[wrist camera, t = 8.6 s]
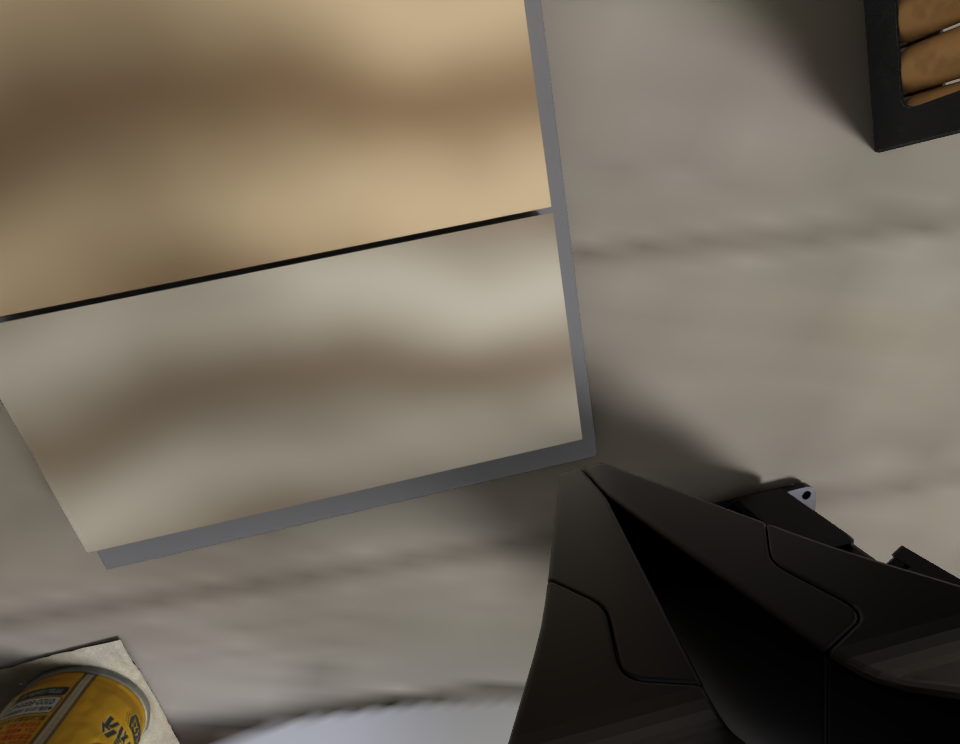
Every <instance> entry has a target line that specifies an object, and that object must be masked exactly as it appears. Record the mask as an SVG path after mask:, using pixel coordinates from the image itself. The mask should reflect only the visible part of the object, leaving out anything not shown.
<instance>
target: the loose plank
mask: <svg viewBox="0 0 960 744" xmlns="http://www.w3.org/2000/svg"><path fill="white" fill-rule="evenodd" d="M0 399H1V401H2V403H3V405H4V406H5V408H6V410H7V412H8V414H9V415H10V417H11V419H12V421H13V422H14V424H15V426H16V428H17V429H18V431H19V433H20V435H21V437H22V438H23V440H24V442H25V444H26V445H27V447H28V449H29V451H30V453H31V454H32V456H33V458H34V460H35V461H36V463H37V465H38V467H39V469H40V470H41V472H42V474H43V476H44V477H45V479H46V481H47V483H48V484H49V486H50V488H51V490H52V492H53V493H54V495H55V497H56V499H57V500H58V502H59V504H60V506H61V508H62V509H63V511H64V513H65V515H66V516H67V518H68V520H69V522H70V523H71V525H72V527H73V529H74V531H75V532H76V534H77V536H78V538H79V539H80V541H81V543H82V545H83V547H84V548H85V550H86V552H87V553H89V552H94V551H98V550H103V549H107V548H111V547H116V546H120V545H124V544H129V543H133V542H137V541H142V540H146V539H150V538H155V537H159V536H163V535H168V534H172V533H177V532H181V531H185V530H190V529H194V528H198V527H203V526H207V525H211V524H216V523H220V522H224V521H229V520H233V519H237V518H242V517H246V516H251V515H255V514H259V513H264V512H268V511H272V510H277V509H281V508H285V507H290V506H294V505H298V504H303V503H307V502H311V501H316V500H320V499H325V498H329V497H333V496H338V495H342V494H346V493H351V492H355V491H359V490H364V489H368V488H372V487H377V486H381V485H386V484H390V483H394V482H399V481H403V480H407V479H412V478H416V477H420V476H425V475H429V474H433V473H438V472H442V471H446V470H451V469H455V468H460V467H464V466H468V465H473V464H477V463H481V462H486V461H490V460H494V459H499V458H503V457H507V456H512V455H516V454H520V453H525V452H529V451H534V450H538V449H542V448H547V447H551V446H555V445H560V444H564V443H568V442H573V441H577V440H581V439H582V432H581V424H580V416H579V409H578V401H577V393H576V386H575V378H574V370H573V363H572V355H571V347H570V340H569V332H568V324H567V317H566V309H565V301H564V294H563V286H562V278H561V271H560V263H559V255H558V248H557V240H556V232H555V224H554V217H553V213H546V214H540V215H535V216H530V217H525V218H520V219H515V220H510V221H505V222H500V223H495V224H490V225H485V226H480V227H475V228H470V229H465V230H460V231H455V232H450V233H445V234H440V235H435V236H430V237H425V238H420V239H415V240H410V241H405V242H400V243H395V244H390V245H385V246H380V247H375V248H370V249H365V250H360V251H355V252H350V253H345V254H340V255H335V256H330V257H325V258H320V259H315V260H310V261H305V262H300V263H295V264H290V265H285V266H280V267H275V268H270V269H265V270H260V271H255V272H250V273H245V274H240V275H235V276H230V277H225V278H220V279H215V280H210V281H205V282H200V283H195V284H190V285H185V286H180V287H175V288H170V289H165V290H160V291H155V292H150V293H145V294H140V295H135V296H130V297H125V298H120V299H115V300H110V301H105V302H100V303H95V304H90V305H85V306H80V307H75V308H70V309H65V310H60V311H55V312H50V313H45V314H40V315H35V316H30V317H25V318H20V319H15V320H10V321H5V322H0Z"/></svg>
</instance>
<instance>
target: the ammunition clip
mask: <svg viewBox="0 0 960 744" xmlns="http://www.w3.org/2000/svg"><path fill="white" fill-rule="evenodd" d="M864 10H865V24H866V37H867V51H868V64H869V78H870V91H871V105H872V118H873V132H874V145H875V152H878V153H879V152H884V151H888V150H892V149H896V148H900V147H904V146H908V145H912V144H916V143H920V142H925V141H929V140H933V139H937V138H941V137H945V136H949V135H953V134H957V133H960V81H959V82H956V83H952V84H949V85H945V83H946V82H949V81H952V80H956V79H959V78H960V26H958V27H956V28H953V29H950V30H948V31H945V32H943V29H945V28H948V27H950V26H952V25H955V24H957V23H960V0H864Z"/></svg>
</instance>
